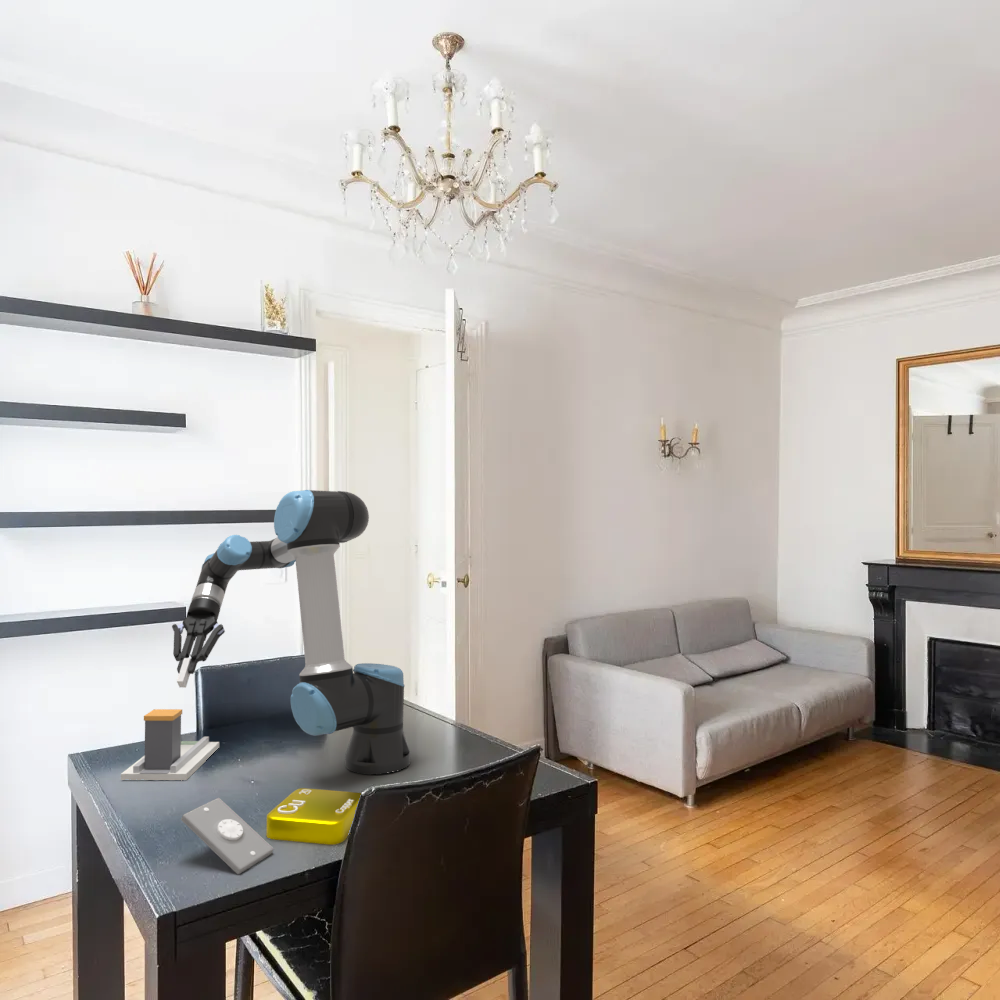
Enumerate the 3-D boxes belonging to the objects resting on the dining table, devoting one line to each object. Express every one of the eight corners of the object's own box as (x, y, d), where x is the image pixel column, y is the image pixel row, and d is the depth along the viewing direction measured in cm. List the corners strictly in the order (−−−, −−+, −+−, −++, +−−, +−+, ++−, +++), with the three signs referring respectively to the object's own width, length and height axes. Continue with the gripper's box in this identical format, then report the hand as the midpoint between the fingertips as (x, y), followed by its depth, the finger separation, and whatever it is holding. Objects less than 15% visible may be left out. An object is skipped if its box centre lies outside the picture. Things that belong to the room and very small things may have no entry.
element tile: (340, 848, 137) (340, 821, 137) (262, 840, 139) (262, 814, 139) (368, 814, 152) (368, 790, 152) (297, 808, 154) (297, 784, 154)
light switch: (242, 865, 125) (184, 810, 130) (228, 893, 127) (171, 837, 132) (276, 844, 133) (220, 792, 138) (263, 870, 134) (208, 818, 139)
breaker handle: (172, 769, 169) (173, 716, 169) (143, 769, 169) (143, 716, 169) (181, 760, 175) (182, 709, 175) (153, 760, 174) (153, 709, 174)
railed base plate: (185, 780, 167) (186, 766, 167) (120, 780, 166) (121, 766, 166) (219, 748, 189) (219, 735, 189) (161, 747, 188) (162, 735, 188)
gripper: (234, 613, 202) (212, 692, 185) (184, 613, 201) (157, 692, 184) (228, 596, 196) (205, 675, 180) (176, 596, 196) (149, 675, 179)
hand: (181, 684), depth 182 cm, fingers closed
